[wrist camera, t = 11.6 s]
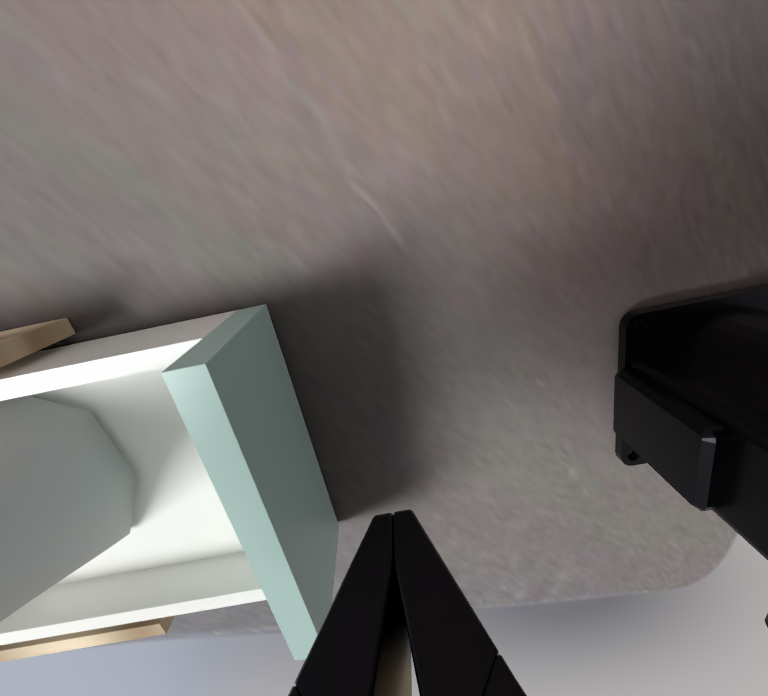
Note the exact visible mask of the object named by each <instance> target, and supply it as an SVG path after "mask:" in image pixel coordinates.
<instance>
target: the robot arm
mask: <svg viewBox="0 0 768 696" xmlns="http://www.w3.org/2000/svg"><path fill="white" fill-rule="evenodd" d="M638 321H641V323H640V326H639V327H638V328H637V329H635V330H634V329H633V328H634V325H635V324H636V323H637V322H638ZM613 429H614V431H615V433H616V447H615V452H616V455H617V456H618V458H619V459H620V460H621V461H622V462H623V463H624V464H626V465H639V464H644V463H648V464H649V465H650V466H651V467H652V468H653V469H654V470H655V471H656V472H657V473H659V474H660V475H661V476H662V477H663V478H664V479H665V480H666V481H667V482H668V483H669V484H670V485H671V486H672V487H673V488H674V489H675V490H676V491H677V492H678V493H680V494H681V495H682V496H683V497H684V498H685V499H686V500H687V501H688V502H689V503H690V504H691V505H693V506H694V507H696V508H698V509H699V510H701V511H706V510H713V511H714V512H715V513H716V514H718V515H719V516H720V517H721V518H722V519H723V520H724V521H725V522H726V523H727V524H729V525H730V526H731V527H732V528H733V529H734V530H735V531H736V532H737V533H738V534H740V535H741V536H742V537H743V538H744V539H745V540H746V541H748V543H749V544H751V545H752V546H753V547H754V548H755V549H756V550H757V551H758V552H759V553H760V554H762V555H763V556H764V557H765V558H766V559H767V560H768V284H764V285H759V286H754V287H749V288H744V289H739V290H733V291H728V292H723V293H718V294H713V295H708V296H703V297H698V298H693V299H688V300H683V301H678V302H673V303H668V304H663V305H658V306H653V307H648V308H643V309H638V310H633V311H631V312H628V313H627V314H626V315H625V316H623V318H622V320H621V321H620V325H619V350H618V371H617V373H616V375H615V390H614V426H613ZM631 451H632V452H631ZM630 452H631V453H630ZM629 453H630V454H629ZM765 623H766V625H767V627H768V614H767V616H766V618H765ZM411 653H412V658H413V663H414V668H415V673H416V678H417V683H418V688H419V693H420V696H527V695H526V694H525V692H524V691H523V689H522V688H521V686H520V685H519V683H518V682H517V680H516V679H515V677H514V675H513V674H512V672H511V671H510V669H509V667H508V666H507V664H506V662H505V661H504V659H503V658H502V656H501V655H499V652H498V650H497V648H496V646H495V645H494V643H493V642H492V640H491V638H490V637H489V635H488V634H487V632H486V630H485V628H484V627H483V625H482V624H481V622H480V620H479V619H478V617H477V615H476V614H475V612H474V610H473V609H472V607H471V606H470V604H469V602H468V601H467V599H466V597H465V596H464V594H463V592H462V591H461V589H460V588H459V586H458V584H457V583H456V581H455V579H454V578H453V576H452V574H451V573H450V571H449V570H448V568H447V566H446V565H445V563H444V561H443V560H442V558H441V557H440V555H439V553H438V552H437V550H436V548H435V547H434V545H433V543H432V542H431V540H430V539H429V537H428V535H427V534H426V532H425V530H424V529H423V527H422V525H421V524H420V522H419V521H418V519H417V517H416V516H415V514H414V512H413V511H412V510H403V511H398V512H395V513H394V515H393V514H391V513H386V514H380V515H376V516H374V517H373V519H372V521H371V523H370V525H369V528H368V530H367V532H366V534H365V536H364V538H363V540H362V542H361V544H360V546H359V549H358V551H357V553H356V555H355V557H354V559H353V561H352V563H351V565H350V567H349V570H348V572H347V574H346V576H345V578H344V580H343V582H342V584H341V586H340V588H339V591H338V593H337V595H336V597H335V599H334V601H333V603H332V605H331V607H330V609H329V612H328V614H327V616H326V618H325V620H324V622H323V624H322V626H321V628H320V630H319V633H318V635H317V637H316V639H315V641H314V643H313V645H312V647H311V649H310V651H309V654H308V656H307V658H306V660H305V662H304V664H303V666H302V668H301V670H300V673H299V675H298V677H297V679H296V681H295V684H296V686H293V687H292V689H291V691H290V693H289V695H288V696H412V687H411V686H412V684H411V683H412V682H411Z"/></svg>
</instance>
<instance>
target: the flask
mask: <svg viewBox="0 0 768 696" xmlns="http://www.w3.org/2000/svg"><path fill="white" fill-rule="evenodd" d="M136 481H137V475H136V474H135V472H134V471H133V470H132V468H131V467H130V466H129V464H128V463H127V461H126V460H125V459H124V457H123V456H122V454H121V453H120V452H119V450H118V449H117V448H116V446H115V445H114V443H113V442H112V441H111V439H110V438H109V436H108V435H107V434H106V432H105V431H104V430H103V428H102V427H101V425H100V424H99V423H98V421H97V420H96V418H95V417H94V416H93V414H92V413H91V411H88V410H84V409H80V408H76V407H72V406H68V405H63V404H59V403H55V402H51V401H47V400H43V399H39V398H35V397H31V396H22V397H17V398H12V399H7V400H2V401H0V622H1V621H2V620H4V619H5V618H7V617H8V616H10V615H11V614H12V613H14V612H15V611H17V610H18V609H19V608H21V607H22V606H24V605H25V604H26V603H28V602H29V601H31V600H32V599H34V598H35V597H37V596H38V595H40V594H41V593H43V592H44V591H46V590H47V589H49V588H50V587H52V586H53V585H55V584H56V583H58V582H59V581H61V580H62V579H64V578H65V577H67V576H68V575H70V574H71V573H73V572H74V571H76V570H77V569H79V568H80V567H82V566H83V565H85V564H86V563H88V562H89V561H91V560H92V559H94V558H95V557H97V556H98V555H100V554H101V553H103V552H104V551H106V550H107V549H109V548H110V547H111V546H113V545H114V544H116V543H117V542H118V541H120V540H121V539H123V538H124V537H125V536H127V535H128V534H130V529H131V521H132V513H133V505H134V497H135V489H136Z"/></svg>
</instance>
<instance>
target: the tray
mask: <svg viewBox="0 0 768 696" xmlns="http://www.w3.org/2000/svg"><path fill="white" fill-rule="evenodd" d="M22 396H31V397H35V398H39V399H43V400H47V401H51V402H55V403H59V404H63V405H68V406H72V407H76V408H80V409H84V410H88V411H91V413H92V414H93V416H94V417H95V418H96V420H97V421H98V423H99V424H100V425H101V427H102V428H103V430H104V431H105V432H106V434H107V435H108V436H109V438H110V439H111V441H112V442H113V443H114V445H115V446H116V448H117V449H118V450H119V452H120V453H121V454H122V456H123V457H124V459H125V460H126V461H127V463H128V464H129V466H130V467H131V468H132V470H133V471H134V472H135V474H136V475H137V481H136V489H135V497H134V505H133V513H132V521H131V529H130V534H128V535H127V536H125V537H124V538H123V539H121V540H120V541H118V542H117V543H116V544H114V545H113V546H111V547H110V548H109V549H107V550H106V551H104V552H103V553H101V554H100V555H98V556H97V557H95V558H94V559H92V560H91V561H89V562H88V563H86V564H85V565H83V566H82V567H80V568H79V569H77V570H76V571H74V572H73V573H71V574H70V575H68V576H67V577H65V578H64V579H62V580H61V581H59V582H58V583H56V584H55V585H53V586H52V587H50V588H49V589H47V590H46V591H44V592H43V593H41V594H40V595H38V596H37V597H35V598H34V599H32V600H31V601H29V602H28V603H26V604H25V605H24V606H22V607H21V608H19V609H18V610H17V611H15V612H14V613H12V614H11V615H10V616H8V617H7V618H5V619H4V620H2V621H1V622H0V645H5V644H11V643H17V642H23V641H29V640H35V639H40V638H46V637H52V636H58V635H64V634H69V633H75V632H81V631H87V630H93V629H99V628H104V627H110V626H116V625H122V624H128V623H133V622H139V621H145V620H151V619H157V618H163V617H168V616H174V615H180V614H186V613H192V612H198V611H203V610H209V609H215V608H221V607H227V606H232V605H238V604H244V603H250V602H256V601H262V600H267V601H268V604H269V606H270V608H271V610H272V612H273V614H274V616H275V619H276V621H277V623H278V625H279V627H280V629H281V631H282V634H283V636H284V638H285V640H286V642H287V644H288V646H289V649H290V651H291V653H292V655H293V657H294V659H295V660H296V661H297V660H303V659H306V658H307V656H308V654H309V651H310V649H311V647H312V645H313V643H314V641H315V639H316V637H317V635H318V633H319V630H320V628H321V626H322V624H323V622H324V620H325V618H326V616H327V614H328V612H329V609H330V607H331V602H332V592H333V582H334V572H335V562H336V552H337V542H338V532H339V525H338V522H337V519H336V516H335V513H334V510H333V507H332V504H331V501H330V498H329V495H328V492H327V488H326V485H325V482H324V479H323V476H322V473H321V470H320V467H319V464H318V461H317V458H316V455H315V452H314V449H313V446H312V443H311V440H310V437H309V434H308V430H307V427H306V424H305V421H304V418H303V415H302V412H301V409H300V406H299V403H298V400H297V397H296V394H295V391H294V388H293V385H292V382H291V379H290V376H289V373H288V369H287V366H286V363H285V360H284V357H283V354H282V351H281V348H280V345H279V342H278V339H277V336H276V333H275V330H274V327H273V324H272V321H271V318H270V315H269V311H268V308H267V305H266V304H264V305H259V306H254V307H249V308H245V309H240V310H235V311H230V312H225V313H221V314H216V315H211V316H206V317H201V318H196V319H192V320H187V321H182V322H177V323H172V324H168V325H163V326H158V327H153V328H148V329H144V330H139V331H134V332H129V333H124V334H120V335H115V336H110V337H105V338H100V339H96V340H91V341H86V342H81V343H76V344H71V345H67V346H62V347H57V348H52V349H47V350H43V351H38V352H34V353H32V354H30V355H27V356H25V357H23V358H21V359H19V360H16V361H14V362H12V363H10V364H7V365H5V366H3V367H1V368H0V401H2V400H7V399H12V398H17V397H22Z"/></svg>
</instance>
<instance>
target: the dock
mask: <svg viewBox="0 0 768 696" xmlns="http://www.w3.org/2000/svg"><path fill="white" fill-rule="evenodd" d="M74 334H76V333H75V331H74V329H73V328H72V326H71V324H70V322H69V320H68V318H62V319H57V320H53V321H48V322H43V323H39V324H34V325H29V326H24V327H20V328H15V329H10V330H5V331H1V332H0V368H1V367H3V366H5V365H7V364H10V363H12V362H14V361H16V360H19V359H21V358H23V357H25V356H27V355H30V354H32V353H34V352H36V351H38V350H41V349H43V348H45V347H47V346H50V345H52V344H54V343H56V342H58V341H61V340H63V339H65V338H67V337H70V336H72V335H74ZM174 616H175V615H174ZM174 616H168V617H163V618H157V619H151V620H145V621H139V622H133V623H128V624H122V625H116V626H110V627H104V628H99V629H93V630H87V631H81V632H75V633H69V634H64V635H58V636H52V637H46V638H40V639H35V640H29V641H23V642H17V643H11V644H5V645H0V662H2V661H8V660H15V659H20V658H26V657H32V656H38V655H44V654H50V653H56V652H62V651H68V650H74V649H79V648H85V647H91V646H97V645H103V644H109V643H115V642H121V641H127V640H132V639H138V638H144V637H150V636H156V635H162V634H166V633H167V631H168V628H169V626H170V624H171V622H172V620H173V618H174Z"/></svg>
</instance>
